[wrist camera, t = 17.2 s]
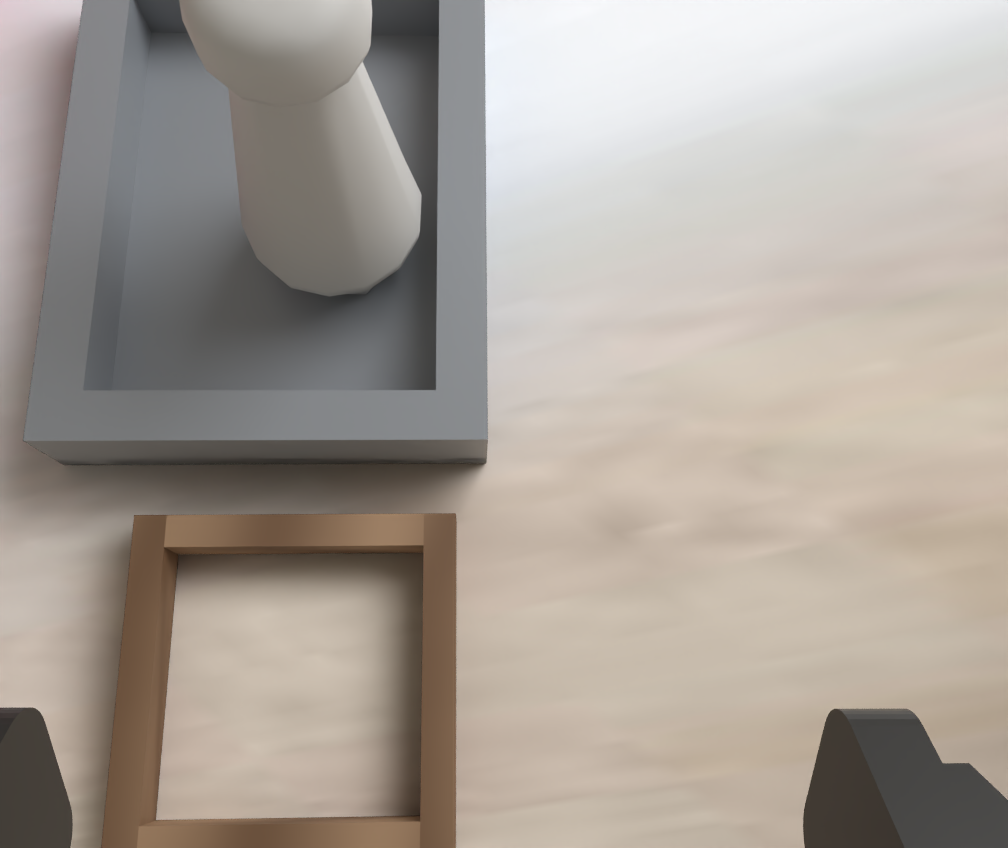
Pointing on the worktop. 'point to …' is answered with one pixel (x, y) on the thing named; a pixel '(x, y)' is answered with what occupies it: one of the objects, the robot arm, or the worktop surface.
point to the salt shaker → (310, 140)
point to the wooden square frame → (145, 662)
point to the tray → (256, 267)
